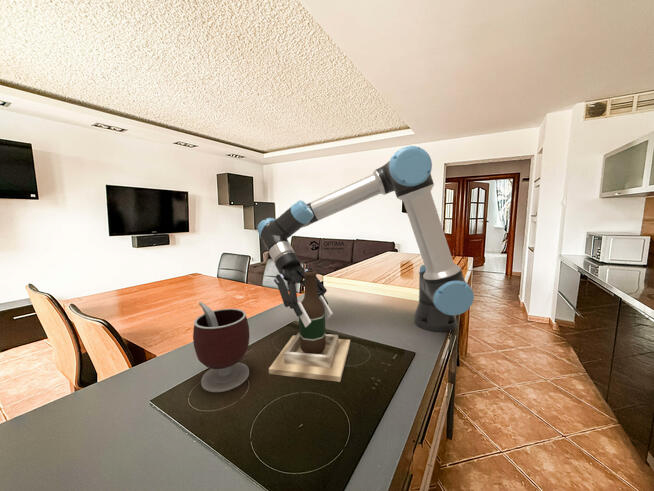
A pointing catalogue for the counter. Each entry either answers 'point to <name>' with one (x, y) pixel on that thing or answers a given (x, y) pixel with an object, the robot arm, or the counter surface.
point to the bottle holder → (312, 360)
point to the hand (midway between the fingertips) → (319, 320)
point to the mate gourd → (222, 347)
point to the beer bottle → (312, 318)
